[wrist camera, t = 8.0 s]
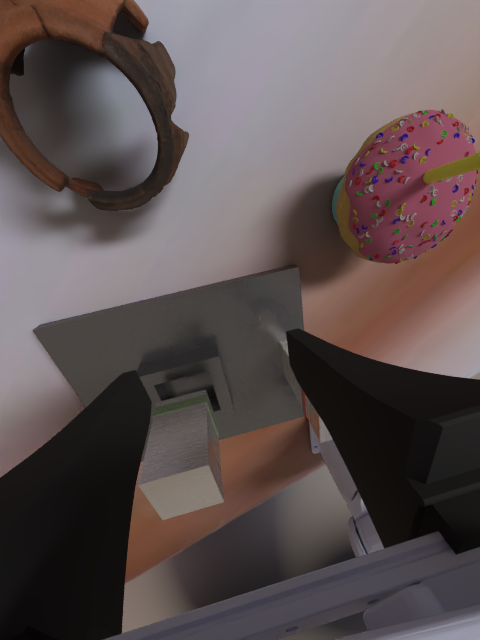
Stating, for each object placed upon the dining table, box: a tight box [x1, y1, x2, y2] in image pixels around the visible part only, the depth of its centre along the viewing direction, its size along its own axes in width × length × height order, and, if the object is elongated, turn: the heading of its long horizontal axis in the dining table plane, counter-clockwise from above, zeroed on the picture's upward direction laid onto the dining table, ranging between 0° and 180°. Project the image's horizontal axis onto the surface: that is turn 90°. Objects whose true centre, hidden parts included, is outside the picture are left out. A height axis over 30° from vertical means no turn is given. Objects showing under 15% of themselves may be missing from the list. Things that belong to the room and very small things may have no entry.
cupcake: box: [332, 109, 480, 264], centre depth 13 cm, size 9×8×12 cm
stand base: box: [33, 264, 333, 462], centre depth 20 cm, size 18×22×9 cm
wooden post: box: [138, 389, 224, 520], centre depth 16 cm, size 4×4×6 cm
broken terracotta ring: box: [0, 0, 189, 211], centre depth 12 cm, size 12×10×8 cm
